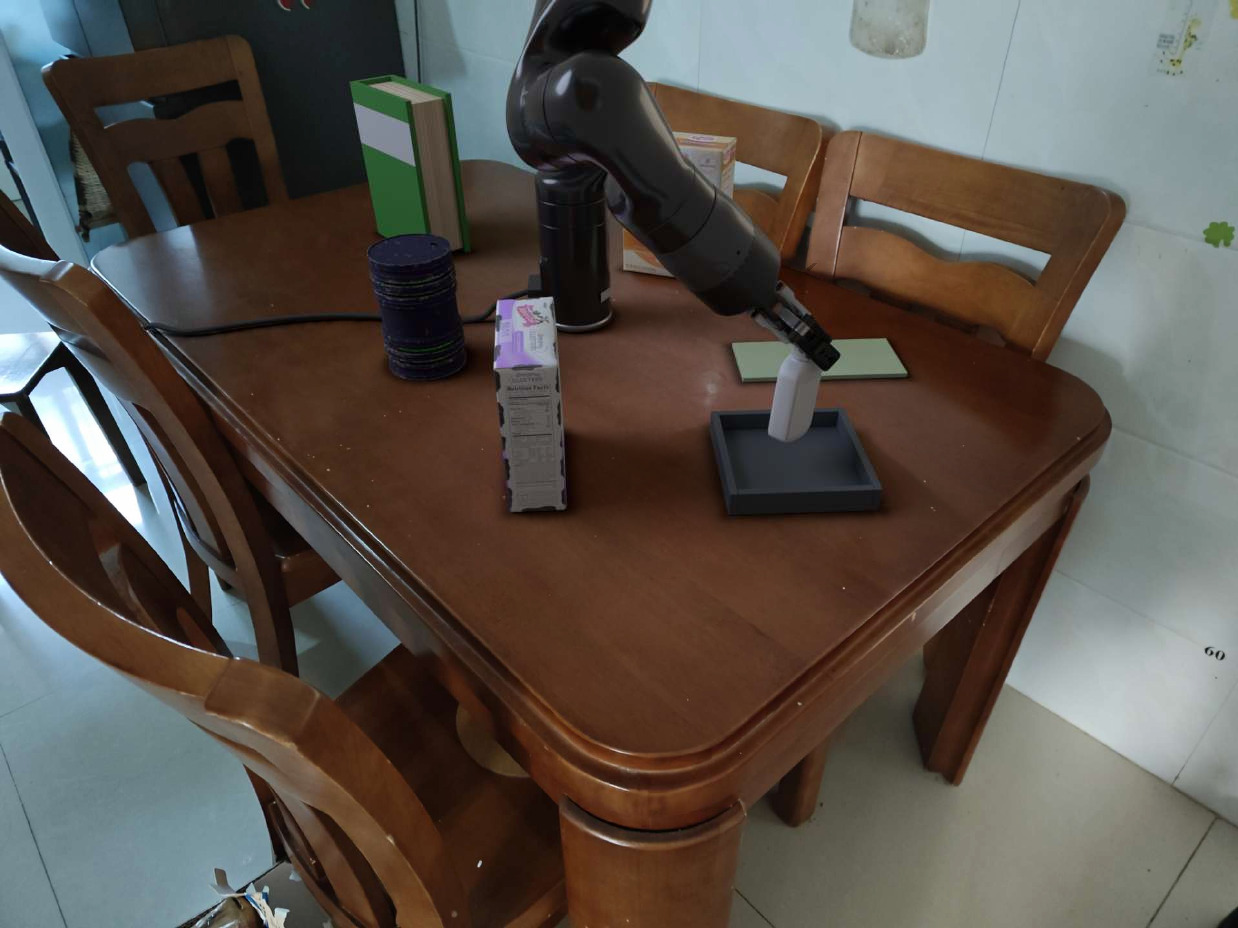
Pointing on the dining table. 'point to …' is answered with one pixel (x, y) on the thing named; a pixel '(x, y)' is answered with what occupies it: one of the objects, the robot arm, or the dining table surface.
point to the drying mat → (853, 364)
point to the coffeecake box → (714, 163)
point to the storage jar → (418, 305)
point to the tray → (792, 465)
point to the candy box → (530, 404)
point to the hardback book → (411, 158)
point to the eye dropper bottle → (794, 397)
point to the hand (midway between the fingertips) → (818, 352)
